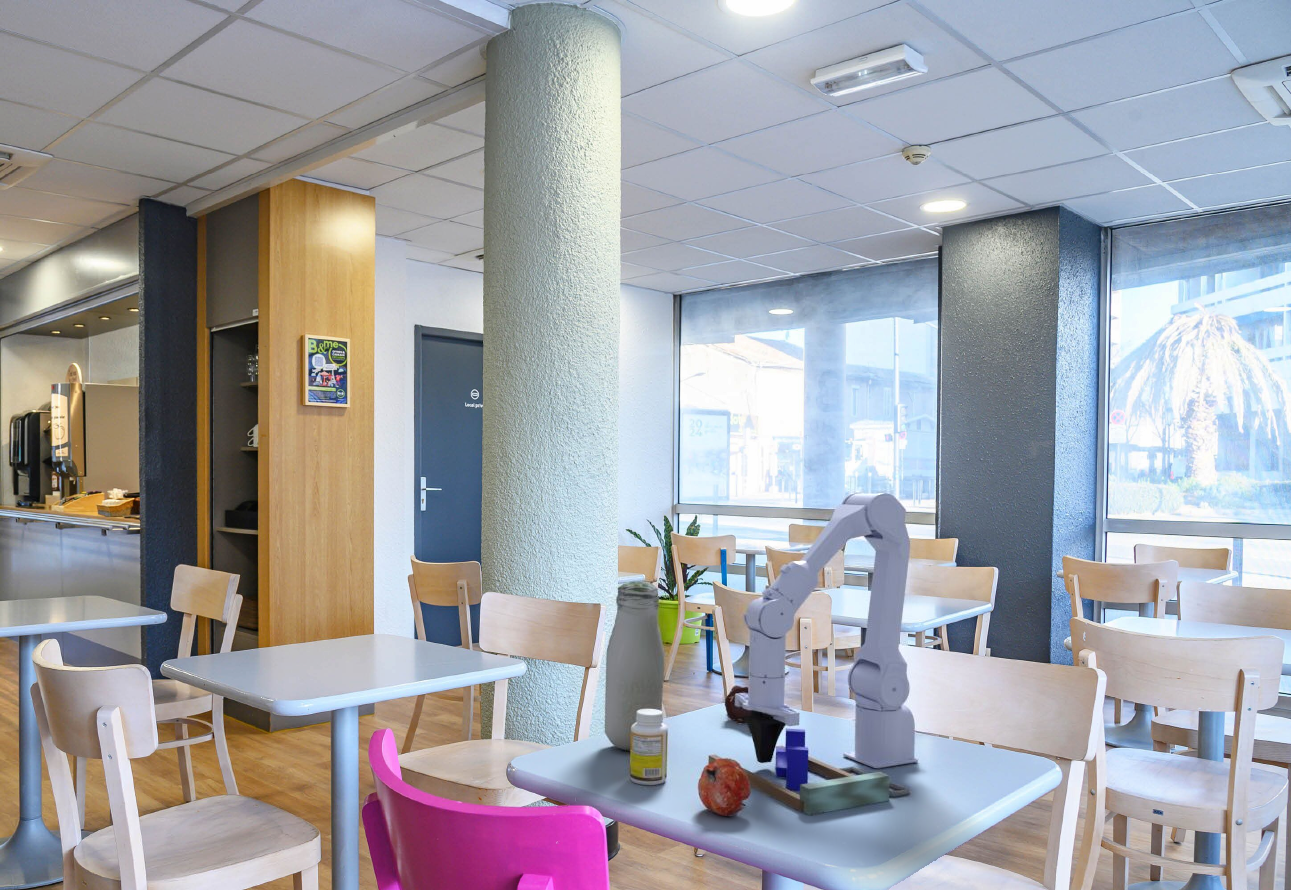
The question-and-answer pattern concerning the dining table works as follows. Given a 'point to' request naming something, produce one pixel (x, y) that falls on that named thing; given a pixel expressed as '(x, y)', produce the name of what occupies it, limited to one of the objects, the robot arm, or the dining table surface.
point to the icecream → (735, 711)
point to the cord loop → (896, 793)
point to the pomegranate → (724, 787)
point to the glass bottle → (633, 661)
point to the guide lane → (826, 789)
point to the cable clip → (793, 759)
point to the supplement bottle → (648, 748)
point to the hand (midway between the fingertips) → (764, 761)
